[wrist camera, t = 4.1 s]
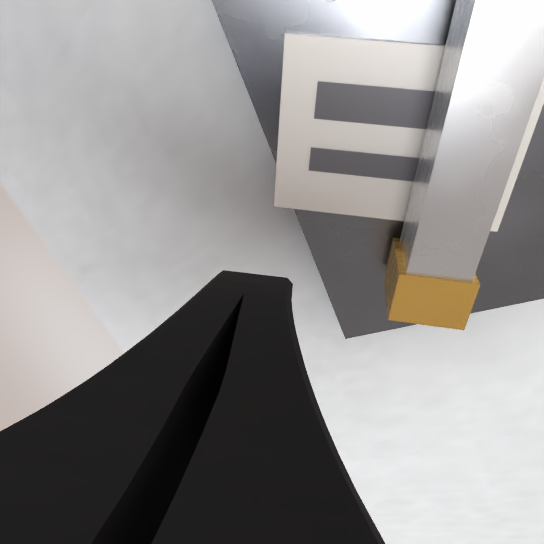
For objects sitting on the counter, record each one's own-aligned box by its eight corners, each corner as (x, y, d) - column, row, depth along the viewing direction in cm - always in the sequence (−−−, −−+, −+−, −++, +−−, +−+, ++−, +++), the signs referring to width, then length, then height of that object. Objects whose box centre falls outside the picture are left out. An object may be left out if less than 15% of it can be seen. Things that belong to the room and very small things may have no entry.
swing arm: (479, -213, 9) (533, -295, 6) (627, -209, 9) (751, -293, 6) (374, 278, 16) (380, 342, 13) (459, 289, 15) (483, 357, 13)
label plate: (275, 202, 15) (273, 207, 15) (286, 32, 13) (284, 33, 12) (494, 227, 15) (497, 232, 14) (556, 54, 12) (561, 56, 12)
